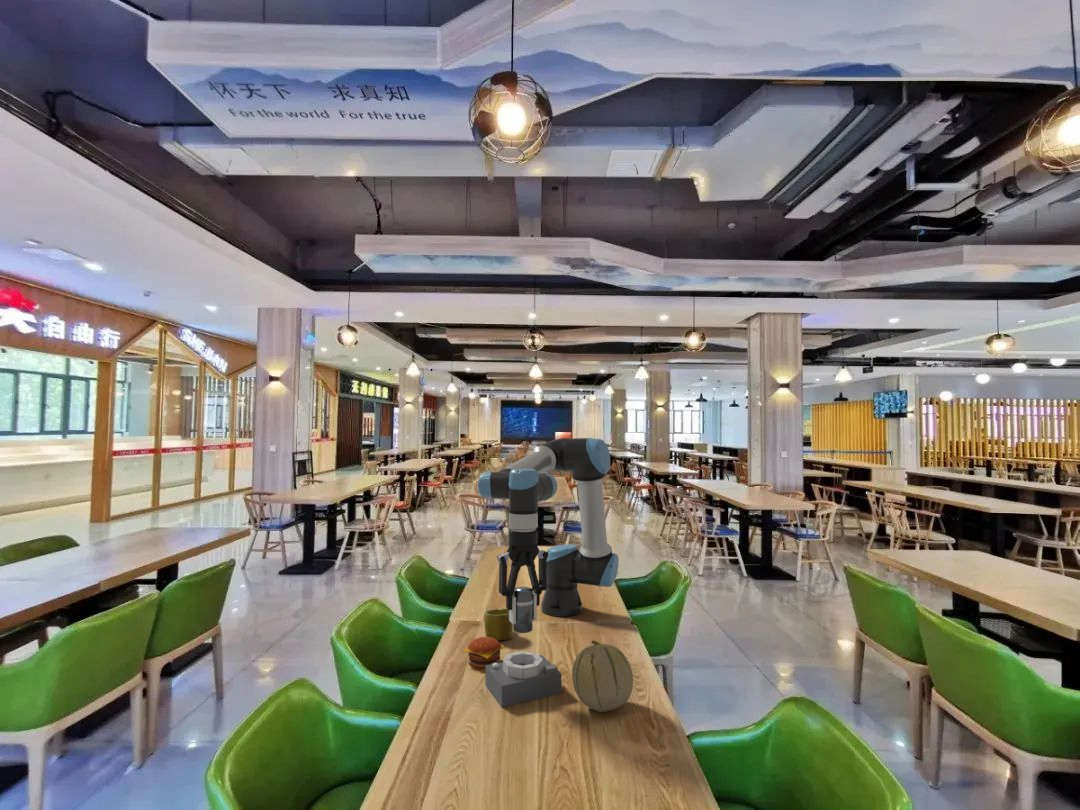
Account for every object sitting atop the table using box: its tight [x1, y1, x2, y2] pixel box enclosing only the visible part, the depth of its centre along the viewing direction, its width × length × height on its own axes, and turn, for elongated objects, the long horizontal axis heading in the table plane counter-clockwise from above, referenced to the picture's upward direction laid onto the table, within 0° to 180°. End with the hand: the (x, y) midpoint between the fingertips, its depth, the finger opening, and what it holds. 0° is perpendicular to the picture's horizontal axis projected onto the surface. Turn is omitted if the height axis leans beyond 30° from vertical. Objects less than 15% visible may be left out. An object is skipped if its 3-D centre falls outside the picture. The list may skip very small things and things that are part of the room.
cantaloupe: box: [571, 639, 634, 713], centre depth 126 cm, size 15×15×15 cm
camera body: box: [485, 650, 562, 708], centre depth 135 cm, size 16×12×8 cm
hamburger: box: [462, 636, 506, 670], centre depth 151 cm, size 9×10×7 cm
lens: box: [513, 586, 534, 634], centre depth 136 cm, size 5×5×10 cm
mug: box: [483, 607, 514, 642], centre depth 170 cm, size 12×10×10 cm
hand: (522, 620), depth 135 cm, fingers closed on lens, 5 cm apart
